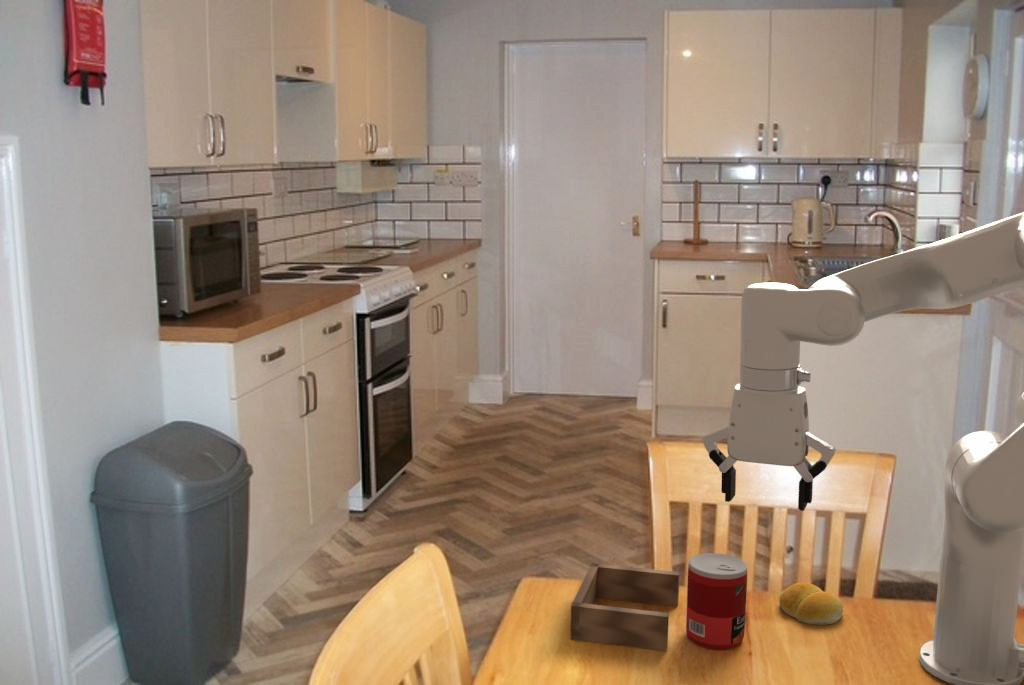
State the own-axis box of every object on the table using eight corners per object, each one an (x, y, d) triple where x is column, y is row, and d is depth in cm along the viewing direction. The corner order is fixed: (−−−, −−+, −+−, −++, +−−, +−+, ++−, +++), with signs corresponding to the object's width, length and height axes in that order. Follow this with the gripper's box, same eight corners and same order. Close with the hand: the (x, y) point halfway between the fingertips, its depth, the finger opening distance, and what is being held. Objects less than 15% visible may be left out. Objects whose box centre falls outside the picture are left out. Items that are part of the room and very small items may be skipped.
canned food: (744, 653, 142) (748, 577, 140) (684, 648, 144) (687, 572, 142) (743, 628, 150) (747, 555, 147) (686, 623, 151) (689, 550, 149)
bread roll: (817, 632, 149) (818, 605, 148) (769, 609, 156) (770, 583, 155) (856, 617, 153) (857, 592, 153) (807, 596, 161) (809, 571, 160)
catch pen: (678, 603, 157) (679, 572, 156) (666, 651, 143) (667, 616, 142) (590, 594, 161) (591, 563, 160) (570, 639, 146) (571, 605, 145)
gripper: (841, 377, 138) (836, 502, 141) (711, 367, 145) (709, 487, 148) (833, 389, 131) (828, 520, 134) (696, 379, 138) (695, 504, 141)
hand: (766, 503), depth 141 cm, fingers open, 9 cm apart
